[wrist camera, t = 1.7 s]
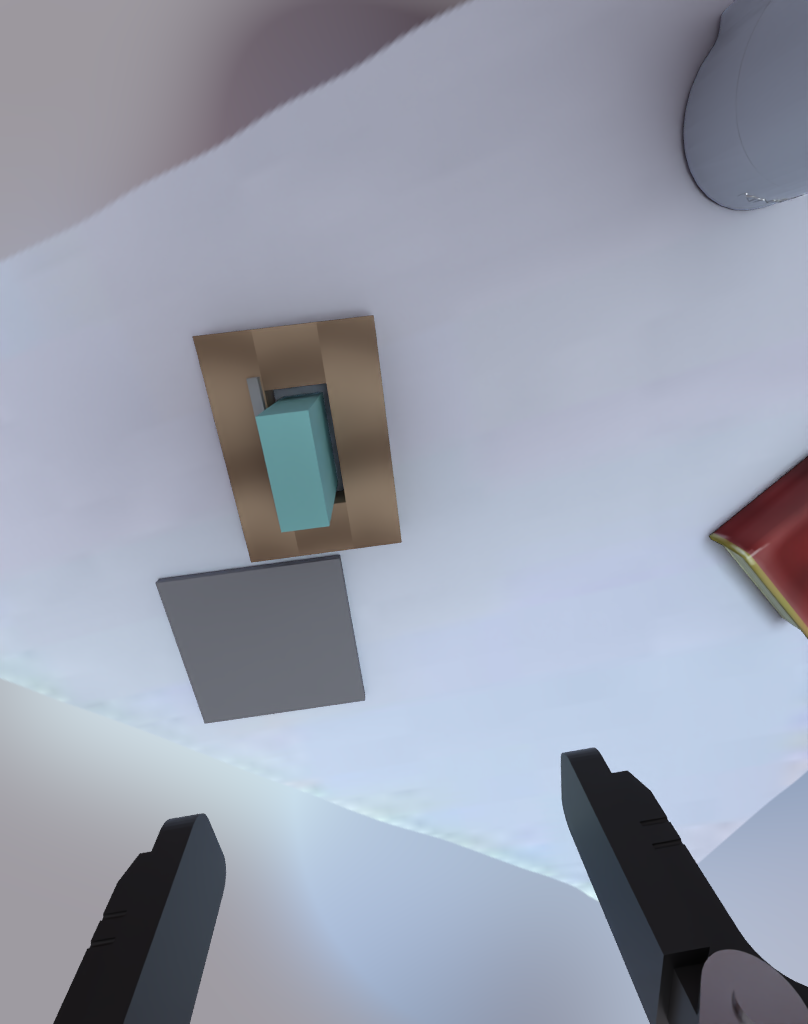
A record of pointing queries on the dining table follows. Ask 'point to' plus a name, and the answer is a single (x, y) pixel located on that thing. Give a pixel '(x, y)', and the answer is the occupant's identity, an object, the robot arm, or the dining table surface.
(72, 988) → the robot arm
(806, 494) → the hardcover book
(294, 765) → the dining table surface
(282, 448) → the teal rectangular prism
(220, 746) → the dining table surface
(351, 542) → the brown wooden frame
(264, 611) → the mat
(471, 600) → the dining table surface
